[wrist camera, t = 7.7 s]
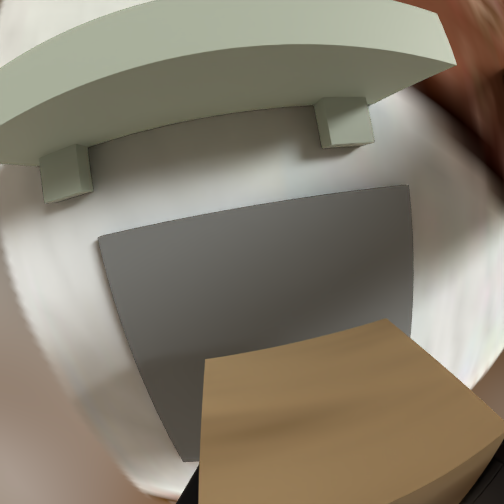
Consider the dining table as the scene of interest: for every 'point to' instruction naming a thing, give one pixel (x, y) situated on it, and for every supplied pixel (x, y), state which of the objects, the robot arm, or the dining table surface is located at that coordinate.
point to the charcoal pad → (255, 286)
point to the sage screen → (209, 74)
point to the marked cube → (341, 424)
